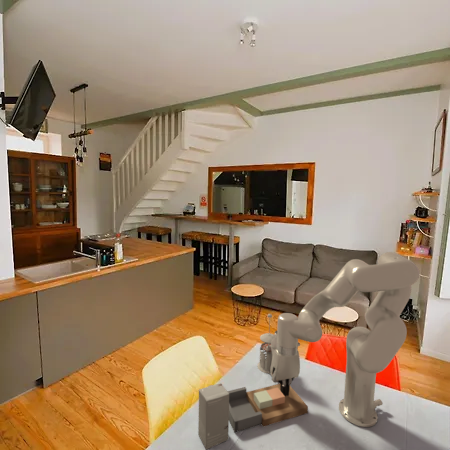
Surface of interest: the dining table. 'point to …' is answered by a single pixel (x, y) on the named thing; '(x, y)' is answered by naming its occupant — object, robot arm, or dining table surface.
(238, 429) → the box
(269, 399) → the tile
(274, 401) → the tile
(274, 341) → the metal bottle
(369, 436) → the dining table surface
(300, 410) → the walnut plate
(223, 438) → the skincare box
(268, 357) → the french press
